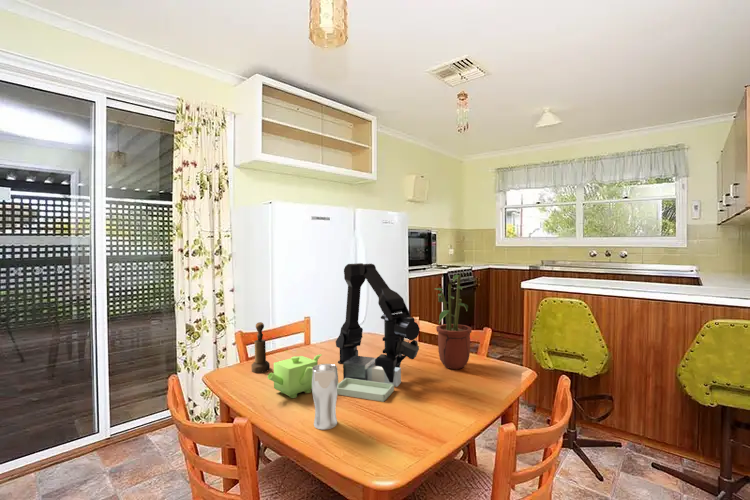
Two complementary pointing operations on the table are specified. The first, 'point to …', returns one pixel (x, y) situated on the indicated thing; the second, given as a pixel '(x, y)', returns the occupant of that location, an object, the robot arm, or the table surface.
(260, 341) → the dark turned peg
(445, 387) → the table surface
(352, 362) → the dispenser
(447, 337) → the potted plant
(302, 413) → the table surface
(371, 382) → the dish
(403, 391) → the table surface
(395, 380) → the white square column
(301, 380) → the kettle
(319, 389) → the beer glass
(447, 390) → the table surface
